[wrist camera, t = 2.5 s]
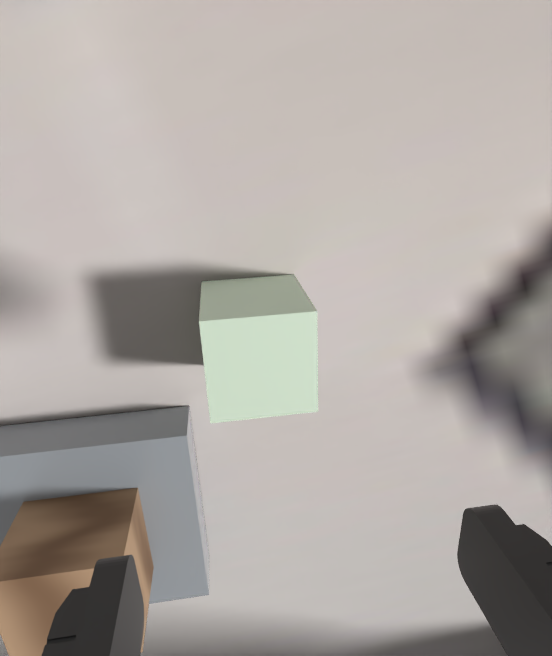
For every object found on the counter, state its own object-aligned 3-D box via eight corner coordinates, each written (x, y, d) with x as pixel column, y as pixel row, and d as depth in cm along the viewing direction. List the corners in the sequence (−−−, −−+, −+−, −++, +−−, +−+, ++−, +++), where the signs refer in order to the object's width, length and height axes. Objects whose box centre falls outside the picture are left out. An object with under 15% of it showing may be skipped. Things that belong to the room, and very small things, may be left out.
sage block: (293, 274, 25) (317, 311, 20) (296, 356, 27) (318, 411, 21) (201, 281, 25) (198, 321, 19) (210, 364, 26) (210, 423, 21)
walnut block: (137, 487, 25) (121, 564, 21) (153, 567, 27) (142, 652, 23) (23, 501, 25) (-20, 584, 20) (49, 581, 27) (15, 672, 22)
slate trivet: (189, 405, 27) (186, 435, 24) (209, 555, 32) (209, 594, 29) (-27, 428, 26) (-55, 462, 23) (27, 581, 30) (8, 624, 28)
